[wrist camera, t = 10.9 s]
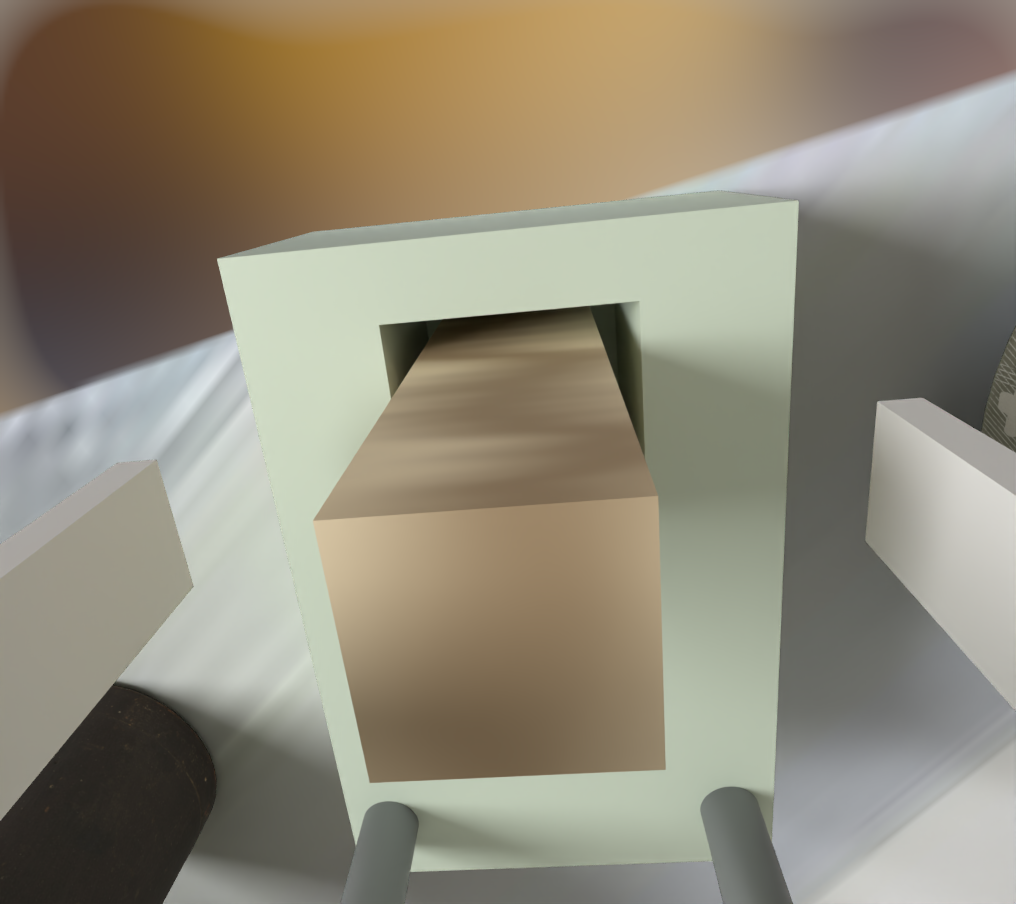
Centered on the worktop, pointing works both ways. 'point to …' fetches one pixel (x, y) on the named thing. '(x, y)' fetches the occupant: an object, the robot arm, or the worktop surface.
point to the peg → (500, 562)
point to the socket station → (671, 462)
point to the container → (110, 809)
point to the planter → (1003, 400)
